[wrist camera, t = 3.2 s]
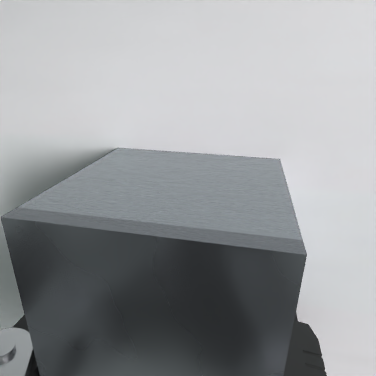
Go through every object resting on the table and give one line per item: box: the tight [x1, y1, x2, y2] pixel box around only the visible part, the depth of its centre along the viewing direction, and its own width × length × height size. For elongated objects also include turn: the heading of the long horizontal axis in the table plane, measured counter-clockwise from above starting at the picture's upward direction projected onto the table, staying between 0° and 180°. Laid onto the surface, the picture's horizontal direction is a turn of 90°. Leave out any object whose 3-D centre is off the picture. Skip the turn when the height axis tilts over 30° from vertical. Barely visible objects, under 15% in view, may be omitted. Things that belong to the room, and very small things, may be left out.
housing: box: [1, 148, 307, 376], centre depth 9 cm, size 10×5×5 cm, turn 179°
